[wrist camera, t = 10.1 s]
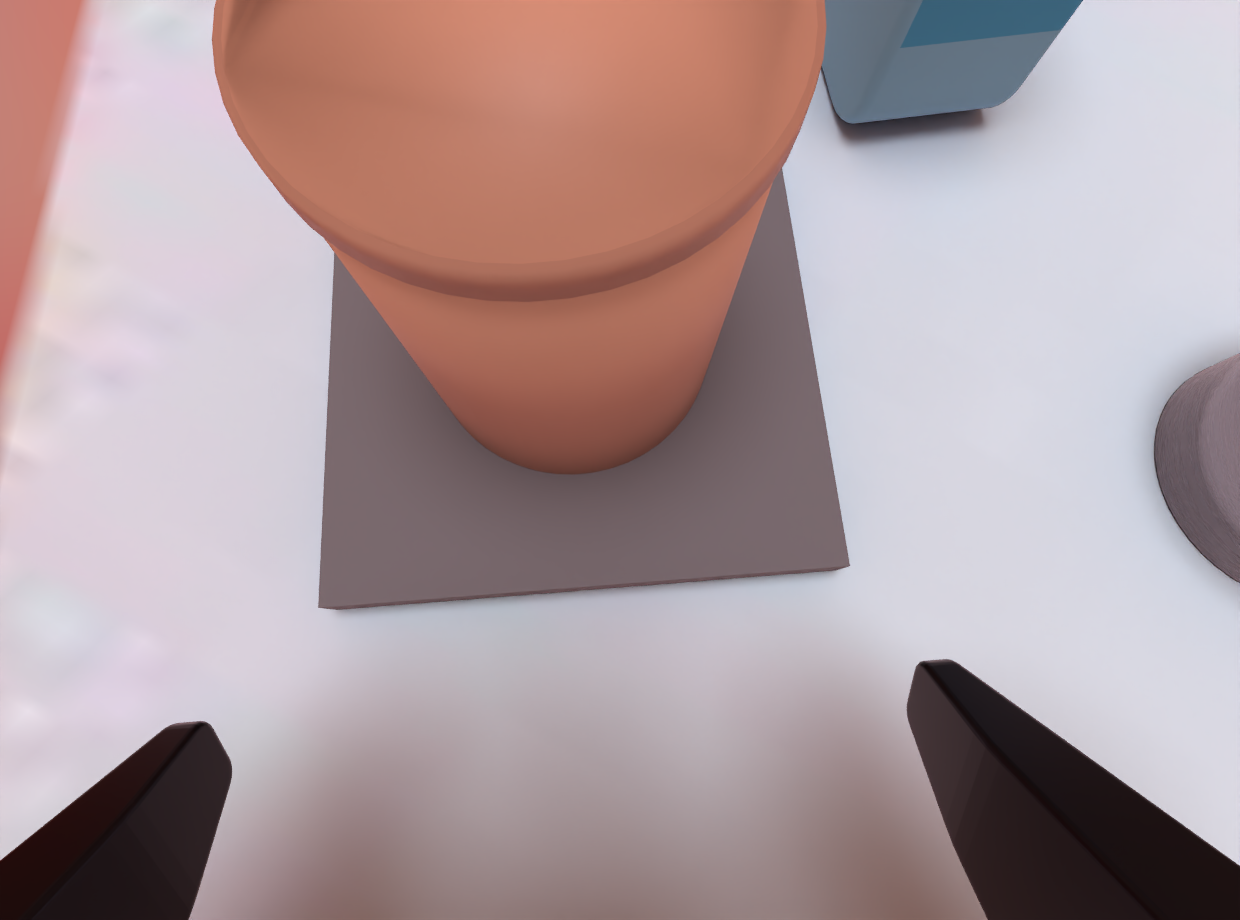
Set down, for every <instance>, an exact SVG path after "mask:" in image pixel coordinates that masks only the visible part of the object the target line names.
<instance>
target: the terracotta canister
mask: <svg viewBox="0 0 1240 920" xmlns="http://www.w3.org/2000/svg"><path fill="white" fill-rule="evenodd" d="M825 37H826V12H825V0H216V4H215V8H214V20H213V34H212V45H213V56H214V66H215V74H216V77H217V81H218V85H219V89H220V92H221V96H222V100H223V103H224V106H225V108H226V110H227V112H228V114H229V117H230V119H231V121H232V123H233V125H234V127H235V129H236V132H237V134H238V136H239V137H240V139H241V140H242V142H243V143H244V144H245V146H246V147H247V149H248V150H249V152H250V153H251V155H252V156H253V158H254V159H255V161H256V162H257V164H258V165H259V166H260V168H261V169H262V170H263V172H264V173H265V174H266V176H267V177H268V178H269V179H270V181H271V182H272V183H273V185H274V186H275V187H276V189H277V190H278V191H279V193H280V194H281V195H282V197H283V198H284V199H285V201H286V202H287V203H288V204H289V205H290V206H291V207H292V208H293V209H294V210H295V211H296V212H297V213H298V215H299V216H300V217H301V218H302V219H303V220H304V221H305V222H306V223H307V224H308V225H309V226H310V227H311V228H312V229H313V230H315V231H316V232H317V233H318V234H320V235H321V236H322V237H324V239H325V240H326V241H327V243H328V244H329V245H330V247H331V248H332V250H333V251H334V252H335V254H336V255H337V256H338V258H339V259H340V260H341V262H342V263H343V265H344V266H345V267H346V269H347V270H348V271H349V273H350V274H351V275H352V277H353V278H354V279H355V281H356V282H357V284H358V285H359V286H360V288H361V289H362V290H363V292H364V293H365V294H366V296H367V297H368V299H369V300H370V301H371V303H372V304H373V305H374V307H375V308H376V309H377V311H378V312H379V314H380V315H381V316H382V318H383V319H384V320H385V322H386V323H387V324H388V326H389V327H390V328H391V330H392V331H393V333H394V334H395V335H396V337H397V338H398V339H399V341H400V342H401V343H402V345H403V346H404V348H405V349H406V350H407V352H408V353H409V354H410V356H411V357H412V358H413V360H414V361H415V363H416V364H417V365H418V367H419V368H420V369H421V371H422V372H423V373H424V375H425V376H426V377H427V379H428V380H429V382H430V383H431V384H432V386H433V387H434V388H435V390H436V391H437V392H438V394H439V395H440V397H441V398H442V399H443V401H444V402H445V403H446V405H447V406H448V407H449V409H450V410H451V412H452V413H453V414H454V416H455V417H456V418H457V420H458V421H459V422H460V424H461V425H462V426H463V427H464V428H465V429H466V430H467V432H468V433H469V434H470V435H471V436H472V437H473V438H474V439H476V440H477V441H478V442H479V443H480V444H482V445H483V446H484V447H485V448H486V449H488V450H490V451H491V452H493V453H495V454H496V455H498V456H499V457H501V458H503V459H505V460H507V461H510V462H512V463H514V464H516V465H519V466H522V467H525V468H529V469H532V470H535V471H540V472H547V473H553V474H584V473H594V472H598V471H602V470H607V469H611V468H614V467H617V466H619V465H622V464H625V463H628V462H630V461H632V460H634V459H636V458H638V457H640V456H641V455H643V454H645V453H647V452H648V451H650V450H651V449H652V448H654V447H655V446H657V445H658V444H660V443H661V442H662V441H663V440H664V439H665V438H666V437H667V436H668V435H670V434H671V433H672V432H673V431H674V430H675V428H676V427H677V426H678V425H679V424H680V422H681V421H682V420H683V419H684V418H685V416H686V415H687V413H688V411H689V410H690V408H691V407H692V405H693V403H694V401H695V399H696V397H697V395H698V392H699V390H700V388H701V385H702V382H703V380H704V377H705V374H706V371H707V368H708V365H709V362H710V360H711V357H712V354H713V351H714V348H715V345H716V343H717V340H718V337H719V334H720V331H721V328H722V325H723V323H724V320H725V317H726V314H727V311H728V308H729V306H730V303H731V300H732V297H733V294H734V291H735V288H736V286H737V283H738V280H739V277H740V274H741V271H742V269H743V266H744V263H745V260H746V257H747V254H748V251H749V249H750V246H751V243H752V240H753V237H754V234H755V232H756V229H757V226H758V223H759V220H760V217H761V215H762V212H763V209H764V206H765V203H766V200H767V197H768V195H769V192H770V189H771V186H772V183H773V180H774V179H775V177H776V176H777V174H778V173H779V171H780V170H781V168H782V167H783V165H784V163H785V162H786V160H787V158H788V156H789V154H790V151H791V149H792V147H793V145H794V143H795V140H796V138H797V136H798V134H799V132H800V129H801V126H802V124H803V121H804V118H805V115H806V113H807V110H808V107H809V105H810V102H811V99H812V96H813V94H814V91H815V88H816V84H817V80H818V76H819V73H820V69H821V65H822V62H823V57H824V47H825Z"/></svg>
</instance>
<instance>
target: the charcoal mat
mask: <svg viewBox="0 0 1240 920" xmlns="http://www.w3.org/2000/svg"><path fill="white" fill-rule="evenodd" d="M848 566H850V564H849V558H848V552H847V546H846V540H845V534H844V529H843V523H842V517H841V511H840V505H839V499H838V493H837V488H836V482H835V476H834V470H833V464H832V458H831V453H830V447H829V441H828V435H827V429H826V423H825V417H824V412H823V406H822V400H821V394H820V388H819V382H818V376H817V371H816V365H815V359H814V353H813V347H812V341H811V336H810V330H809V324H808V318H807V312H806V306H805V300H804V295H803V289H802V283H801V277H800V271H799V265H798V260H797V254H796V248H795V242H794V236H793V230H792V224H791V219H790V213H789V207H788V201H787V195H786V189H785V183H784V178H783V172H782V168H781V170H780V171H779V173H778V174H777V176H776V177H775V179H774V180H773V183H772V186H771V189H770V192H769V195H768V197H767V200H766V203H765V206H764V209H763V212H762V215H761V217H760V220H759V223H758V226H757V229H756V232H755V234H754V237H753V240H752V243H751V246H750V249H749V251H748V254H747V257H746V260H745V263H744V266H743V269H742V271H741V274H740V277H739V280H738V283H737V286H736V288H735V291H734V294H733V297H732V300H731V303H730V306H729V308H728V311H727V314H726V317H725V320H724V323H723V325H722V328H721V331H720V334H719V337H718V340H717V343H716V345H715V348H714V351H713V354H712V357H711V360H710V362H709V365H708V368H707V371H706V374H705V377H704V380H703V382H702V385H701V388H700V390H699V392H698V395H697V397H696V399H695V401H694V403H693V405H692V407H691V408H690V410H689V411H688V413H687V415H686V416H685V418H684V419H683V420H682V421H681V422H680V424H679V425H678V426H677V427H676V428H675V430H674V431H673V432H672V433H671V434H670V435H668V436H667V437H666V438H665V439H664V440H663V441H662V442H661V443H660V444H658V445H657V446H655V447H654V448H652V449H651V450H650V451H648V452H647V453H645V454H643V455H641V456H640V457H638V458H636V459H634V460H632V461H630V462H628V463H625V464H622V465H619V466H617V467H614V468H611V469H607V470H602V471H598V472H594V473H584V474H553V473H547V472H540V471H535V470H532V469H529V468H525V467H522V466H519V465H516V464H514V463H512V462H510V461H507V460H505V459H503V458H501V457H499V456H498V455H496V454H495V453H493V452H491V451H490V450H488V449H486V448H485V447H484V446H483V445H482V444H480V443H479V442H478V441H477V440H476V439H474V438H473V437H472V436H471V435H470V434H469V433H468V432H467V430H466V429H465V428H464V427H463V426H462V425H461V424H460V422H459V421H458V420H457V418H456V417H455V416H454V414H453V413H452V412H451V410H450V409H449V407H448V406H447V405H446V403H445V402H444V401H443V399H442V398H441V397H440V395H439V394H438V392H437V391H436V390H435V388H434V387H433V386H432V384H431V383H430V382H429V380H428V379H427V377H426V376H425V375H424V373H423V372H422V371H421V369H420V368H419V367H418V365H417V364H416V363H415V361H414V360H413V358H412V357H411V356H410V354H409V353H408V352H407V350H406V349H405V348H404V346H403V345H402V343H401V342H400V341H399V339H398V338H397V337H396V335H395V334H394V333H393V331H392V330H391V328H390V327H389V326H388V324H387V323H386V322H385V320H384V319H383V318H382V316H381V315H380V314H379V312H378V311H377V309H376V308H375V307H374V305H373V304H372V303H371V301H370V300H369V299H368V297H367V296H366V294H365V293H364V292H363V290H362V289H361V288H360V286H359V285H358V284H357V282H356V281H355V279H354V278H353V277H352V275H351V274H350V273H349V271H348V270H347V269H346V267H345V266H344V265H343V263H342V262H341V260H340V259H339V258H338V256H337V255H336V254H335V253H334V275H333V297H332V319H331V341H330V363H329V385H328V407H327V429H326V451H325V473H324V495H323V517H322V539H321V561H320V583H319V605H318V608H326V609H336V610H339V609H352V608H365V607H377V606H390V605H403V604H415V603H428V602H441V601H453V600H466V599H479V598H491V597H504V596H517V595H529V594H542V593H555V592H567V591H580V590H593V589H605V588H618V587H631V586H643V585H656V584H669V583H681V582H694V581H707V580H719V579H732V578H745V577H757V576H770V575H783V574H795V573H808V572H821V571H833V570H838V569H842V568H845V567H848Z"/></svg>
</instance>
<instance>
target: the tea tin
mask: <svg viewBox="0 0 1240 920" xmlns="http://www.w3.org/2000/svg"><path fill="white" fill-rule="evenodd" d="M1155 460H1156V467H1157V474H1158V478H1159V481H1160V485H1161V488H1162V492H1163V494H1164V497H1165V499H1166V501H1167V504H1168V506H1169V508H1170V510H1171V512H1172V514H1173V515H1174V517H1175V519H1176V521H1177V522H1178V524H1179V525H1180V527H1181V528H1182V530H1183V531H1184V532H1185V534H1186V535H1187V537H1188V538H1189V539H1190V540H1191V541H1192V543H1193V544H1194V545H1195V546H1196V547H1197V548H1198V549H1199V550H1200V552H1201V553H1202V554H1203V555H1205V556H1206V557H1207V558H1208V559H1209V560H1210V561H1211V562H1212V563H1213V564H1214V565H1215V566H1217V567H1218V568H1219V569H1221V570H1222V571H1223V572H1225V573H1226V574H1228V575H1229V576H1230V577H1232V578H1233V579H1235V580H1237V581H1238V582H1240V353H1239V354H1237V355H1235V356H1233V357H1230V358H1228V359H1226V360H1224V361H1222V362H1220V363H1217V364H1215V365H1213V366H1211V367H1209V368H1207V369H1205V370H1203V371H1201V372H1199V373H1197V374H1195V375H1194V376H1192V377H1191V378H1190V379H1188V380H1187V381H1186V382H1184V383H1183V384H1182V385H1181V386H1180V387H1179V388H1178V389H1177V390H1176V391H1175V393H1174V394H1173V396H1172V397H1171V398H1170V400H1169V401H1168V403H1167V405H1166V407H1165V409H1164V411H1163V413H1162V415H1161V418H1160V421H1159V425H1158V428H1157V434H1156V441H1155Z"/></svg>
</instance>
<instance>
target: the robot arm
mask: <svg viewBox="0 0 1240 920" xmlns="http://www.w3.org/2000/svg"><path fill="white" fill-rule="evenodd" d="M907 716H908V721H909V724H910V727H911V730H912V733H913V735H914V738H915V741H916V744H917V747H918V750H919V752H920V755H921V758H922V761H923V764H924V766H925V769H926V772H927V775H928V778H929V780H930V783H931V786H932V789H933V792H934V794H935V797H936V800H937V803H938V806H939V808H940V811H941V814H942V817H943V820H944V823H945V825H946V828H947V830H948V833H949V836H950V838H951V841H952V843H953V846H954V848H955V850H956V853H957V855H958V857H959V859H960V862H961V864H962V866H963V868H964V870H965V872H966V875H967V877H968V879H969V881H970V883H971V885H972V887H973V889H974V891H975V894H976V896H977V898H978V900H979V902H980V904H981V906H982V908H983V911H984V913H985V915H986V917H987V919H988V920H1240V866H1239V865H1238V864H1236V863H1235V862H1234V861H1232V860H1231V859H1230V858H1228V857H1227V856H1225V855H1224V854H1223V853H1221V852H1220V851H1218V850H1217V849H1216V848H1214V847H1213V846H1211V845H1210V844H1209V843H1207V842H1206V841H1204V840H1203V839H1202V838H1200V837H1199V836H1197V835H1196V834H1195V833H1193V832H1192V831H1191V830H1189V829H1188V828H1186V827H1185V826H1184V825H1182V824H1181V823H1179V822H1178V821H1177V820H1175V819H1174V818H1172V817H1171V816H1170V815H1168V814H1167V813H1165V812H1164V811H1163V810H1161V809H1160V808H1159V807H1157V806H1156V805H1154V804H1153V803H1152V802H1150V801H1149V800H1147V799H1146V798H1145V797H1143V796H1142V795H1140V794H1139V793H1138V792H1136V791H1135V790H1133V789H1132V788H1131V787H1129V786H1128V785H1127V784H1125V783H1124V782H1122V781H1121V780H1120V779H1118V778H1117V777H1115V776H1114V775H1113V774H1111V773H1110V772H1108V771H1107V770H1106V769H1104V768H1103V767H1101V766H1100V765H1099V764H1097V763H1096V762H1095V761H1093V760H1092V759H1090V758H1089V757H1088V756H1086V755H1085V754H1083V753H1082V752H1081V751H1079V750H1078V749H1076V748H1075V747H1074V746H1072V745H1071V744H1069V743H1068V742H1067V741H1065V740H1064V739H1063V738H1061V737H1060V736H1058V735H1057V734H1056V733H1054V732H1053V731H1051V730H1050V729H1049V728H1047V727H1046V726H1044V725H1043V724H1042V723H1040V722H1039V721H1037V720H1036V719H1035V718H1033V717H1032V716H1031V715H1029V714H1028V713H1026V712H1025V711H1024V710H1022V709H1021V708H1019V707H1018V706H1017V705H1015V704H1014V703H1012V702H1011V701H1010V700H1008V699H1007V698H1005V697H1004V696H1003V695H1001V694H1000V693H999V692H997V691H996V690H994V689H993V688H992V687H990V686H989V685H987V684H986V683H985V682H983V681H982V680H980V679H979V678H978V677H976V676H975V675H973V674H972V673H971V672H969V671H968V670H967V669H965V668H964V667H962V666H961V665H960V664H958V663H956V662H954V661H952V660H949V659H942V660H930V661H922V662H920V663H919V664H918V665H917V666H916V669H915V672H914V676H913V680H912V685H911V689H910V693H909V697H908V702H907ZM231 778H232V765H231V761H230V758H229V757H228V755H227V753H226V751H225V749H224V747H223V746H222V744H221V742H220V740H219V738H218V736H217V735H216V733H215V731H214V729H213V728H212V726H211V725H210V724H208V723H207V722H204V721H197V722H184V723H176V724H172V725H170V726H168V727H166V728H165V729H163V730H162V731H161V732H160V733H158V734H157V735H156V736H155V737H153V738H152V739H151V740H150V741H148V742H147V743H146V744H145V745H143V746H142V747H141V748H140V749H138V750H137V751H136V752H135V753H133V754H132V755H131V756H130V757H128V758H127V759H126V760H125V761H123V762H122V763H121V764H120V765H118V766H117V767H116V768H115V769H114V770H112V771H111V772H110V773H109V774H107V775H106V776H105V777H104V778H102V779H101V780H100V781H99V782H97V783H96V784H95V785H94V786H92V787H91V788H90V789H89V790H87V791H86V792H85V793H84V794H82V795H81V796H80V797H79V798H77V799H76V800H75V801H74V802H72V803H71V804H70V805H69V806H67V807H66V808H65V809H64V810H62V811H61V812H60V813H59V814H58V815H56V816H55V817H54V818H53V819H51V820H50V821H49V822H48V823H46V824H45V825H44V826H43V827H41V828H40V829H39V830H38V831H36V832H35V833H34V834H33V835H31V836H30V837H29V838H28V839H26V840H25V841H24V842H23V843H21V844H20V845H19V846H18V847H16V848H15V849H14V850H13V851H11V852H10V853H9V854H8V855H7V856H5V857H4V858H3V859H2V860H0V920H188V919H189V917H190V914H191V912H192V908H193V905H194V902H195V899H196V896H197V893H198V890H199V887H200V884H201V880H202V877H203V874H204V870H205V867H206V864H207V860H208V857H209V854H210V850H211V847H212V843H213V840H214V837H215V833H216V830H217V827H218V823H219V820H220V817H221V813H222V810H223V807H224V803H225V800H226V797H227V793H228V790H229V787H230V783H231Z"/></svg>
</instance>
